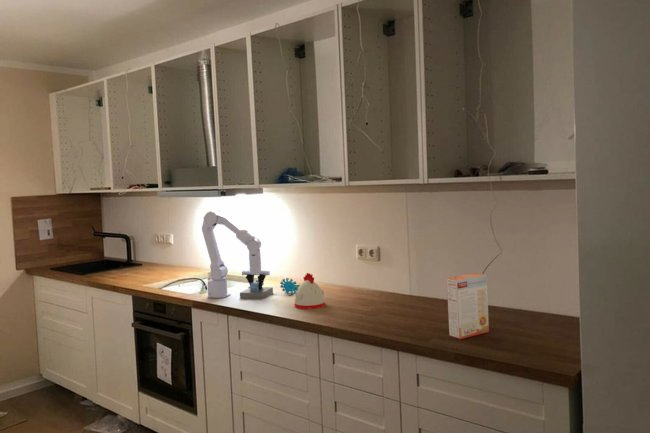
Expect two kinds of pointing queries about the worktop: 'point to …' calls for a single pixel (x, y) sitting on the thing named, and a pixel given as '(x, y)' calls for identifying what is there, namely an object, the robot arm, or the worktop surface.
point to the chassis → (256, 293)
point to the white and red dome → (309, 294)
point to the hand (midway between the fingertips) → (256, 289)
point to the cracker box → (467, 305)
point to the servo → (255, 286)
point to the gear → (289, 286)
